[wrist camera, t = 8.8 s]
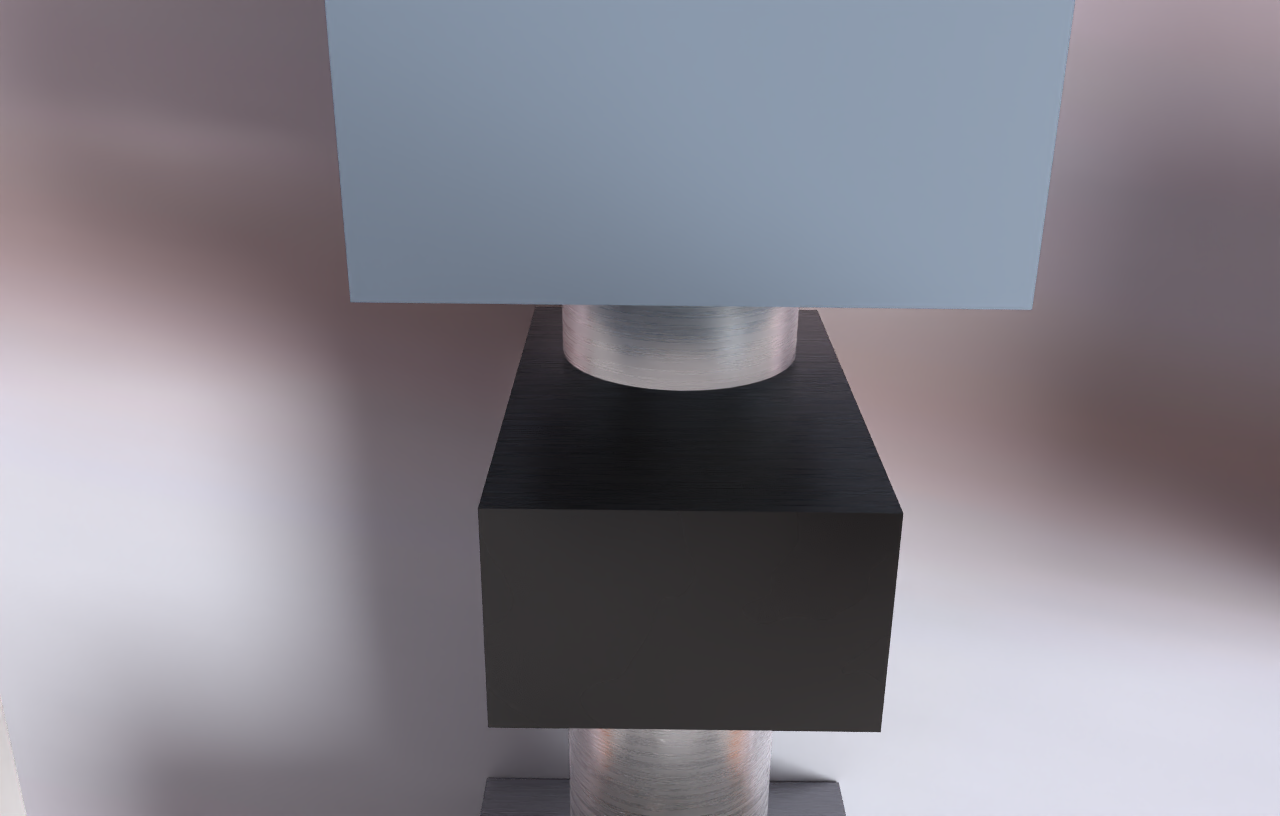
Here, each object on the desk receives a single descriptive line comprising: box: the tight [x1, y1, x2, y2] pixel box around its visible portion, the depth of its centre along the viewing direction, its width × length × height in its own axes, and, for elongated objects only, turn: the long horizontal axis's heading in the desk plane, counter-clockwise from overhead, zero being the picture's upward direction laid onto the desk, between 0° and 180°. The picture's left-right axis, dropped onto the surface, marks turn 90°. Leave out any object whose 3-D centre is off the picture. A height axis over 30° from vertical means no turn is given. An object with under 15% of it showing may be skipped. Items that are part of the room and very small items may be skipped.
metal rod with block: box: [478, 305, 903, 816], centre depth 19 cm, size 18×5×8 cm, turn 179°
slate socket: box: [325, 0, 1075, 310], centre depth 17 cm, size 5×8×9 cm, turn 89°
